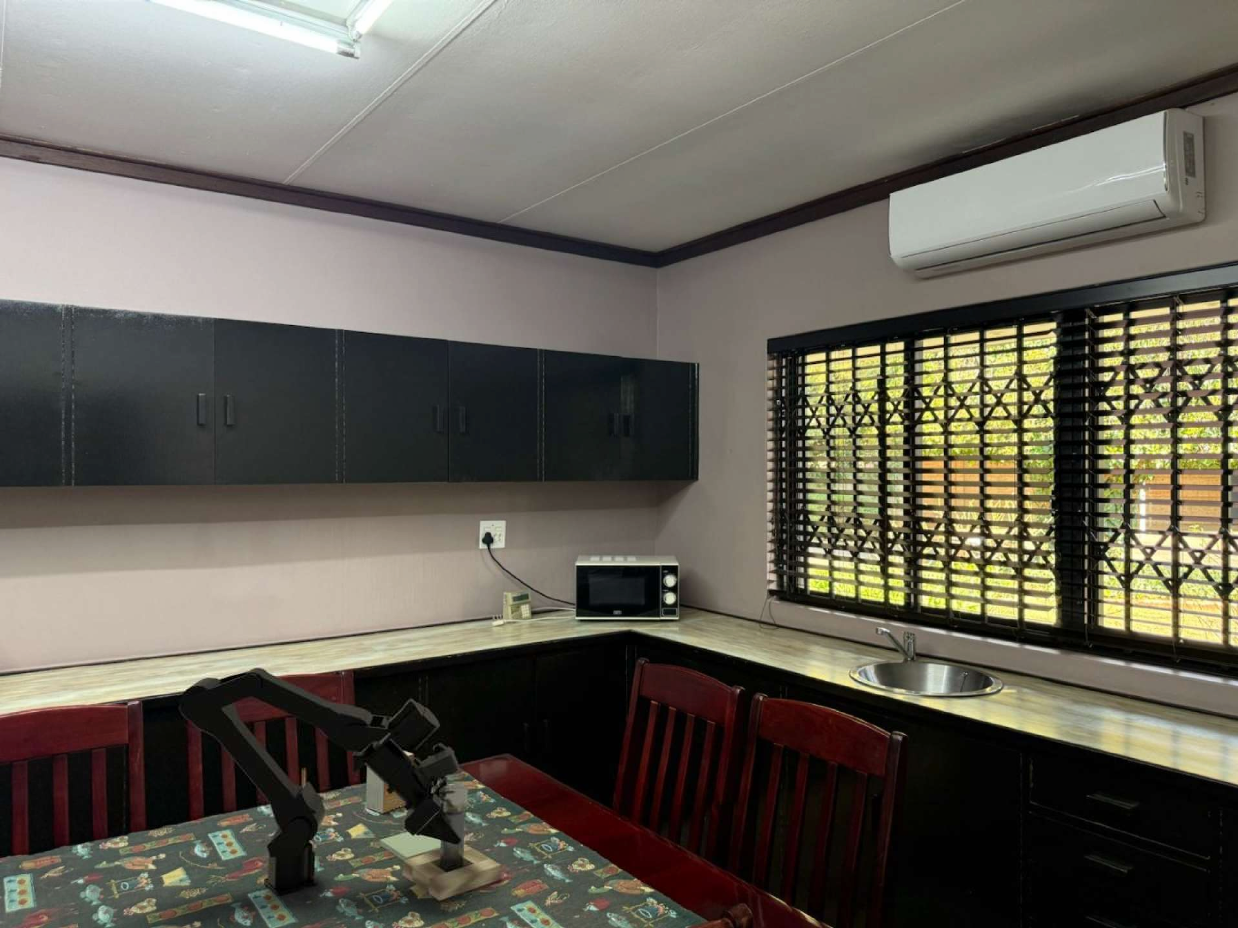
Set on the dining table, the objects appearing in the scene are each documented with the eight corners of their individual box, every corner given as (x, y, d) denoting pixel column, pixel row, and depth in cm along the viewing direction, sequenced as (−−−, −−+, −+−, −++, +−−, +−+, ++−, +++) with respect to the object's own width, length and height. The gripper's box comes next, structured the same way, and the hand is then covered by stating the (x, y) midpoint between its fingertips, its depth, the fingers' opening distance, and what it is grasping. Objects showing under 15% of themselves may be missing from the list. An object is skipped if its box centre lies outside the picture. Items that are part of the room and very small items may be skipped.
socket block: (439, 900, 145) (439, 884, 145) (402, 875, 154) (403, 860, 154) (500, 879, 153) (500, 864, 153) (462, 856, 162) (462, 842, 162)
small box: (382, 814, 182) (383, 762, 182) (365, 807, 185) (366, 756, 185) (413, 803, 188) (414, 753, 188) (396, 797, 191) (397, 747, 192)
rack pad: (406, 862, 159) (406, 857, 159) (379, 844, 166) (380, 839, 166) (455, 848, 166) (455, 842, 166) (427, 831, 173) (427, 826, 173)
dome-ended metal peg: (446, 886, 150) (449, 796, 151) (431, 876, 154) (434, 788, 154) (471, 878, 154) (473, 790, 154) (455, 868, 157) (458, 782, 157)
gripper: (427, 750, 144) (494, 817, 146) (434, 719, 163) (494, 779, 164) (375, 801, 143) (444, 868, 144) (388, 764, 162) (449, 823, 163)
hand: (460, 831), depth 154 cm, fingers open, 9 cm apart
